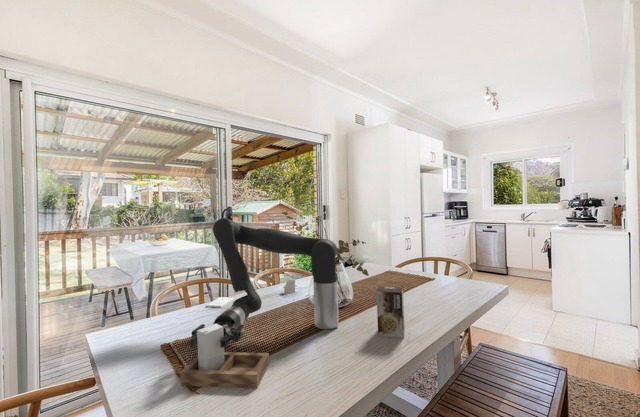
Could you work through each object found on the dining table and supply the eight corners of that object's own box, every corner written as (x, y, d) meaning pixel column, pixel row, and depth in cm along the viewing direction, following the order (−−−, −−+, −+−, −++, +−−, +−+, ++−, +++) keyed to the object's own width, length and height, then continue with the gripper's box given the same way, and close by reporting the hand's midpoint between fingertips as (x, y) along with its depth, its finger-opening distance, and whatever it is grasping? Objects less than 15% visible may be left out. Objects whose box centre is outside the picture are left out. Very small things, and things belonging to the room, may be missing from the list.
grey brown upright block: (405, 331, 110) (403, 287, 110) (403, 338, 104) (402, 292, 104) (379, 328, 113) (378, 285, 113) (377, 335, 107) (376, 290, 107)
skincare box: (217, 363, 89) (215, 322, 89) (225, 368, 86) (224, 326, 86) (197, 372, 84) (195, 329, 84) (205, 378, 82) (204, 333, 81)
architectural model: (282, 294, 163) (282, 280, 163) (293, 291, 167) (293, 278, 167) (286, 295, 160) (286, 281, 160) (297, 292, 165) (296, 279, 165)
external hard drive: (233, 300, 154) (221, 309, 142) (219, 300, 156) (205, 308, 144) (233, 297, 154) (221, 305, 142) (219, 296, 156) (205, 304, 144)
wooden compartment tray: (269, 364, 89) (268, 353, 89) (257, 388, 78) (256, 374, 78) (201, 363, 92) (201, 351, 92) (180, 385, 80) (180, 372, 80)
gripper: (209, 309, 100) (181, 329, 84) (250, 310, 99) (231, 330, 82) (210, 332, 100) (182, 356, 84) (251, 332, 99) (232, 357, 83)
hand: (206, 343), depth 83 cm, fingers open, 8 cm apart
